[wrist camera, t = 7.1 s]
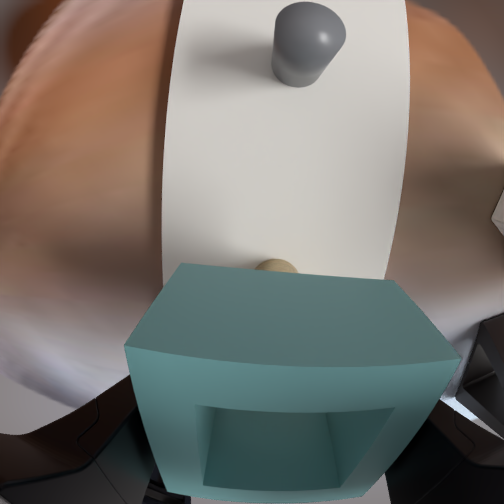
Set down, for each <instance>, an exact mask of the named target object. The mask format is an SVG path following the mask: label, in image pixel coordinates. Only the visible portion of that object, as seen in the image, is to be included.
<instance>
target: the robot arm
mask: <svg viewBox="0 0 504 504" xmlns="http://www.w3.org/2000/svg"><path fill="white" fill-rule="evenodd" d="M385 476H386V481H387V486H388V490H389V496H390V501H391V504H504V440H503V439H501V438H500V437H498V436H496V435H494V434H492V433H491V432H488V431H487V430H485V429H483V428H482V427H480V426H478V425H477V424H475V423H473V422H472V421H470V420H469V419H467V418H466V417H464V416H463V415H461V414H460V413H458V412H457V411H454V409H453V408H451V407H450V406H448V405H447V404H446V403H444V402H443V401H441V400H440V399H439V400H438V402H437V403H436V405H435V407H434V408H433V410H432V411H431V413H430V414H429V416H428V417H427V419H426V420H425V422H424V423H423V425H422V426H421V427H420V429H419V430H418V432H417V433H416V434H415V436H414V437H413V438H412V440H411V441H410V442H409V444H408V445H407V446H406V448H405V449H404V450H403V451H402V453H401V454H400V455H399V456H398V457H397V459H396V460H395V461H394V462H393V463H392V465H391V466H390V467H389V468H388V469H387V470H386V472H385ZM0 504H191V496H187V495H182V494H177V493H172V492H167V489H166V487H165V484H164V482H163V479H162V477H161V474H160V472H159V469H158V466H157V464H156V461H155V458H154V455H153V453H152V450H151V447H150V444H149V441H148V438H147V435H146V431H145V428H144V425H143V422H142V418H141V415H140V411H139V408H138V404H137V400H136V397H135V393H134V389H133V385H132V380H131V376H130V375H128V376H127V377H125V378H124V379H122V380H121V381H119V382H118V383H117V384H115V385H114V386H112V387H111V388H109V389H108V390H106V391H105V392H103V393H102V394H100V395H99V396H97V397H96V399H95V398H94V399H93V400H91V401H90V402H88V403H86V404H85V405H83V406H82V407H80V408H78V409H77V410H75V411H73V412H71V413H70V414H68V415H66V416H64V417H62V418H60V419H58V420H56V421H54V422H52V423H50V424H48V425H45V426H43V427H41V428H39V429H37V430H35V431H32V432H30V433H27V434H22V435H9V434H2V433H0Z"/></svg>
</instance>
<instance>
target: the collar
mask: <svg viewBox="0 0 504 504" xmlns="http://www.w3.org/2000/svg"><path fill="white" fill-rule="evenodd" d="M124 348H125V353H126V358H127V363H128V367H129V372H130V376H131V380H132V385H133V389H134V393H135V397H136V400H137V404H138V408H139V411H140V415H141V418H142V422H143V425H144V428H145V431H146V435H147V438H148V441H149V444H150V447H151V450H152V453H153V455H154V458H155V461H156V464H157V466H158V469H159V472H160V474H161V477H162V479H163V482H164V484H165V487H166V489H167V492H172V493H177V494H182V495H187V496H193V497H200V498H206V499H214V500H222V501H233V502H247V503H308V502H321V501H331V500H340V499H348V498H354V497H361V496H363V495H364V494H365V493H366V492H367V491H368V490H369V489H370V488H371V487H372V486H373V485H374V484H375V482H376V481H377V480H378V479H379V478H380V477H381V476H382V475H383V474H384V473H385V472H386V470H387V469H388V468H389V467H390V466H391V465H392V463H393V462H394V461H395V460H396V459H397V457H398V456H399V455H400V454H401V453H402V451H403V450H404V449H405V448H406V446H407V445H408V444H409V442H410V441H411V440H412V438H413V437H414V436H415V434H416V433H417V432H418V430H419V429H420V427H421V426H422V425H423V423H424V422H425V420H426V419H427V417H428V416H429V414H430V413H431V411H432V410H433V408H434V407H435V405H436V403H437V402H438V400H439V399H440V397H441V395H442V394H443V392H444V390H445V389H446V387H447V385H448V383H449V382H450V380H451V378H452V376H453V374H454V373H455V371H456V369H457V367H458V365H459V363H460V361H461V359H462V358H461V357H460V355H459V354H458V353H457V352H456V350H455V349H454V348H453V347H452V346H451V344H450V343H449V342H448V341H447V340H446V338H445V337H444V336H443V335H442V334H441V332H440V331H439V330H438V329H437V328H436V327H435V325H434V324H433V323H432V322H431V321H430V320H429V319H428V317H427V316H426V315H425V314H424V313H423V312H422V311H421V309H420V308H419V307H418V306H417V305H416V304H415V303H414V302H413V301H412V300H411V298H410V297H409V296H408V295H407V294H406V293H405V292H404V291H403V290H402V289H401V288H400V287H399V286H398V284H397V283H396V282H395V281H394V280H381V279H366V278H353V277H339V276H326V275H313V274H301V273H289V272H277V271H265V270H254V269H243V268H232V267H221V266H211V265H200V264H190V263H180V265H179V266H178V268H177V269H176V270H175V272H174V273H173V275H172V276H171V277H170V279H169V280H168V282H167V283H166V284H165V286H164V287H163V289H162V290H161V291H160V293H159V294H158V296H157V297H156V299H155V300H154V301H153V303H152V304H151V306H150V307H149V309H148V310H147V312H146V313H145V315H144V316H143V317H142V319H141V320H140V322H139V323H138V325H137V326H136V328H135V329H134V331H133V332H132V334H131V335H130V337H129V338H128V340H127V341H126V343H125V344H124Z"/></svg>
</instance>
